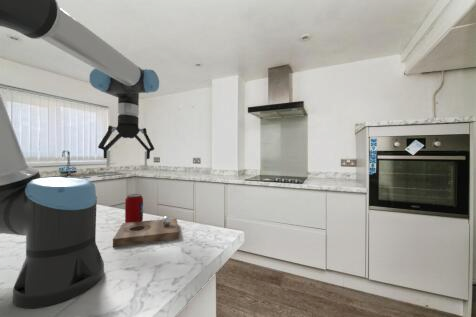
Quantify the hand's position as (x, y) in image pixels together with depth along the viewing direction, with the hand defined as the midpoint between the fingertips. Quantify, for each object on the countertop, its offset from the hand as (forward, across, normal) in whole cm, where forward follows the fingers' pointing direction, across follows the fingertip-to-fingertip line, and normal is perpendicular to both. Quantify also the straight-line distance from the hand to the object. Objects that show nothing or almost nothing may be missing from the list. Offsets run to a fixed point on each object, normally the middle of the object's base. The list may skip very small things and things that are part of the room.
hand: (127, 166), depth 82 cm
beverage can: (+24, -3, -2) cm, 25 cm away
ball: (+20, -15, +14) cm, 28 cm away
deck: (+24, -9, +13) cm, 29 cm away
